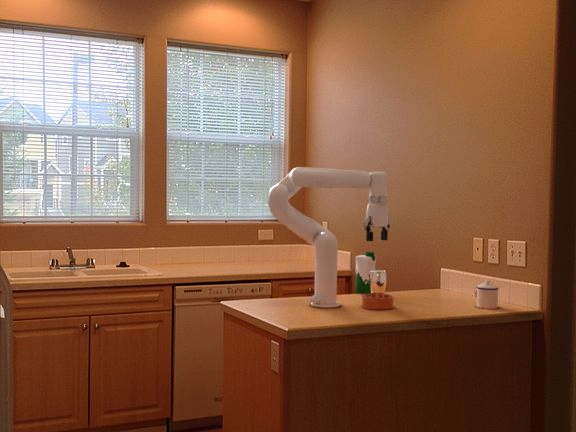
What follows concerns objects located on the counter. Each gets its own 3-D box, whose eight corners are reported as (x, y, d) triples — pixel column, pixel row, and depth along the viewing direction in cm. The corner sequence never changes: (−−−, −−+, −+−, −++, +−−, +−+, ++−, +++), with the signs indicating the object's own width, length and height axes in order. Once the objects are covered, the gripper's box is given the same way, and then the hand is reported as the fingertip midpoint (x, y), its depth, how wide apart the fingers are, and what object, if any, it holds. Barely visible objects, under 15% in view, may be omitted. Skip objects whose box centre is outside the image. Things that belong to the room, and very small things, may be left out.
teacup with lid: (502, 308, 280) (503, 281, 280) (486, 309, 276) (487, 282, 276) (482, 303, 291) (483, 277, 290) (466, 305, 287) (467, 278, 286)
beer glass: (381, 308, 274) (382, 272, 274) (366, 306, 278) (367, 271, 277) (388, 305, 280) (389, 270, 280) (373, 304, 284) (374, 269, 283)
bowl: (380, 311, 270) (380, 299, 270) (355, 307, 279) (355, 295, 279) (399, 307, 279) (399, 296, 279) (374, 303, 288) (374, 292, 288)
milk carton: (370, 295, 312) (370, 253, 311) (352, 293, 317) (353, 251, 316) (377, 292, 320) (378, 251, 319) (360, 291, 324) (360, 250, 323)
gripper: (383, 200, 289) (382, 239, 290) (357, 200, 278) (357, 240, 278) (397, 200, 284) (396, 240, 285) (371, 200, 272) (370, 242, 273)
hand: (377, 240), depth 281 cm, fingers open, 9 cm apart
